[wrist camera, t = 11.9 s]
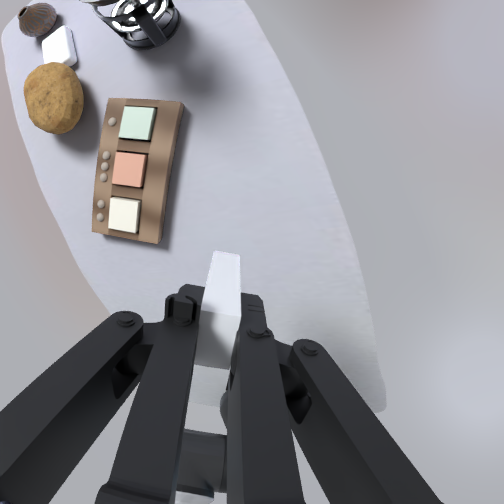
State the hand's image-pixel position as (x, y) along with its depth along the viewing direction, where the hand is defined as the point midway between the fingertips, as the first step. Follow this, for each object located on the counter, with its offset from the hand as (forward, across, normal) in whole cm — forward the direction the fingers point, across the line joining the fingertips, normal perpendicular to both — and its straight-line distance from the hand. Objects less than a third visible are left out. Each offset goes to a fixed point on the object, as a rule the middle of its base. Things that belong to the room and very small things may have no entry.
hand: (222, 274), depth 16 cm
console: (+24, +15, -3) cm, 29 cm away
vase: (+25, +42, -30) cm, 57 cm away
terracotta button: (+24, +15, -3) cm, 29 cm away
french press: (+25, +18, -26) cm, 40 cm away
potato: (+25, +30, -13) cm, 41 cm away
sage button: (+24, +15, -9) cm, 30 cm away
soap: (+25, +35, -23) cm, 48 cm away
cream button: (+24, +15, +4) cm, 29 cm away
